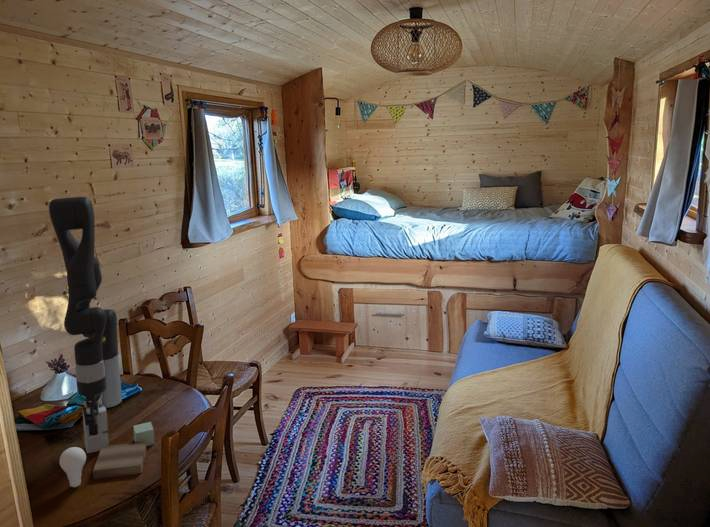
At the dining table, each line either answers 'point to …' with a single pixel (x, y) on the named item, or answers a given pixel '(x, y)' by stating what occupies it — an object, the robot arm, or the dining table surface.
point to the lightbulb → (73, 464)
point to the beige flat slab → (120, 460)
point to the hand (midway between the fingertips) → (95, 429)
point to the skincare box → (101, 438)
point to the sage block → (144, 433)
